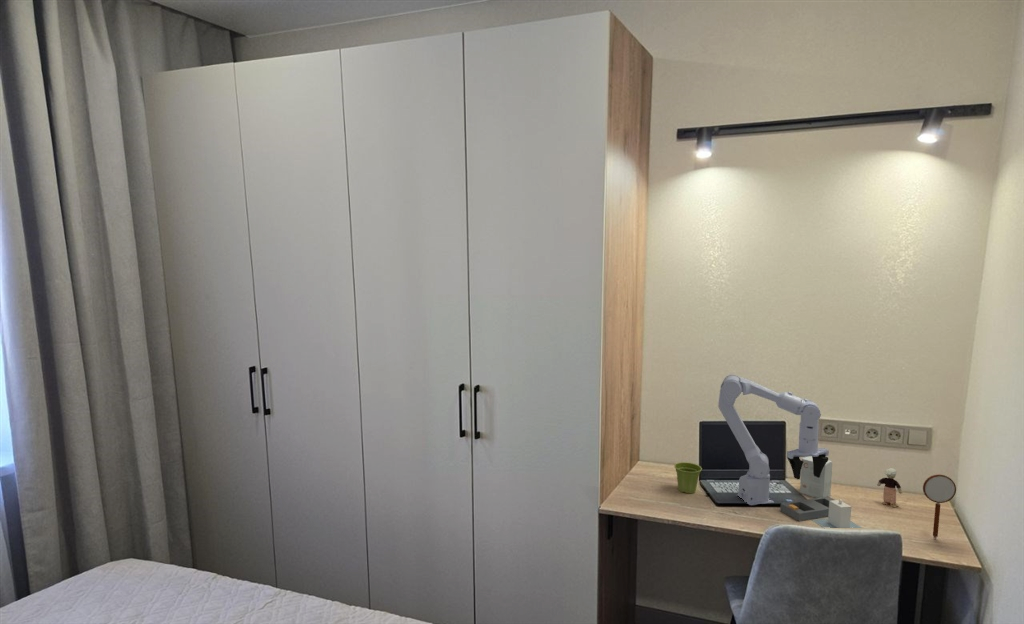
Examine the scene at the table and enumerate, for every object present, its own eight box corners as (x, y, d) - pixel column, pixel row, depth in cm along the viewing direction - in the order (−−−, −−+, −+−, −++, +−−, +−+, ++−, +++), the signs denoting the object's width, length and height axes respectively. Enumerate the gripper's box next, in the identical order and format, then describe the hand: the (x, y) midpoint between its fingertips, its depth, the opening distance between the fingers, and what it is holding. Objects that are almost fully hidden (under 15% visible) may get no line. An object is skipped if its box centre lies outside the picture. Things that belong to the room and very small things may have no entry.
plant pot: (706, 494, 208) (707, 470, 207) (682, 496, 205) (683, 472, 204) (690, 484, 217) (692, 461, 216) (668, 486, 214) (669, 463, 213)
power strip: (798, 524, 186) (799, 511, 186) (780, 513, 194) (780, 501, 194) (847, 516, 193) (848, 504, 192) (827, 506, 200) (828, 494, 200)
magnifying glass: (920, 538, 177) (925, 474, 175) (917, 535, 179) (923, 472, 177) (952, 542, 175) (958, 477, 173) (949, 539, 177) (955, 475, 175)
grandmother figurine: (902, 505, 201) (905, 469, 199) (900, 509, 198) (903, 472, 197) (876, 499, 206) (879, 464, 205) (874, 502, 203) (876, 466, 202)
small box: (830, 496, 207) (833, 461, 206) (822, 501, 203) (825, 464, 202) (807, 489, 214) (809, 454, 212) (799, 493, 210) (801, 458, 208)
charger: (839, 529, 181) (841, 503, 181) (827, 522, 186) (829, 497, 185) (849, 528, 182) (851, 502, 181) (837, 521, 187) (839, 496, 186)
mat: (834, 536, 178) (834, 534, 178) (811, 521, 188) (811, 519, 187) (868, 532, 180) (868, 531, 180) (843, 518, 190) (843, 517, 190)
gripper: (797, 443, 190) (795, 483, 192) (836, 440, 193) (834, 480, 195) (783, 436, 197) (781, 475, 199) (820, 433, 200) (819, 472, 202)
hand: (806, 477), depth 197 cm, fingers open, 7 cm apart
